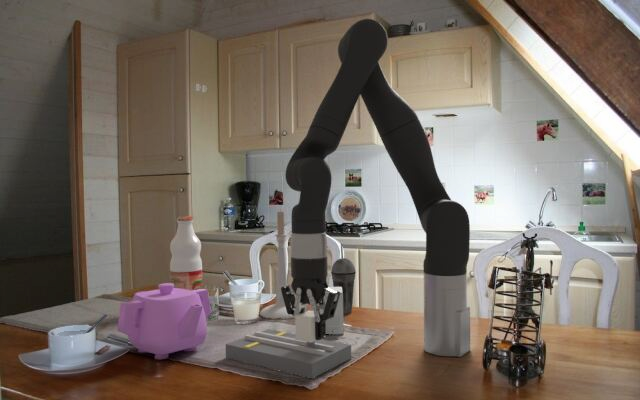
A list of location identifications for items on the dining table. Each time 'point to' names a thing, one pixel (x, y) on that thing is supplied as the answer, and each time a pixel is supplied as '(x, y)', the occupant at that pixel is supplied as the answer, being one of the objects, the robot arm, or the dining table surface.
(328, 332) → the small box
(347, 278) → the beverage cup
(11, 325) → the dining table surface
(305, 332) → the fader tab
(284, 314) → the candlestick
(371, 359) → the dining table surface
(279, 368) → the fader console
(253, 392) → the dining table surface
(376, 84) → the robot arm
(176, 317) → the teapot
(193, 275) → the fruit juice
